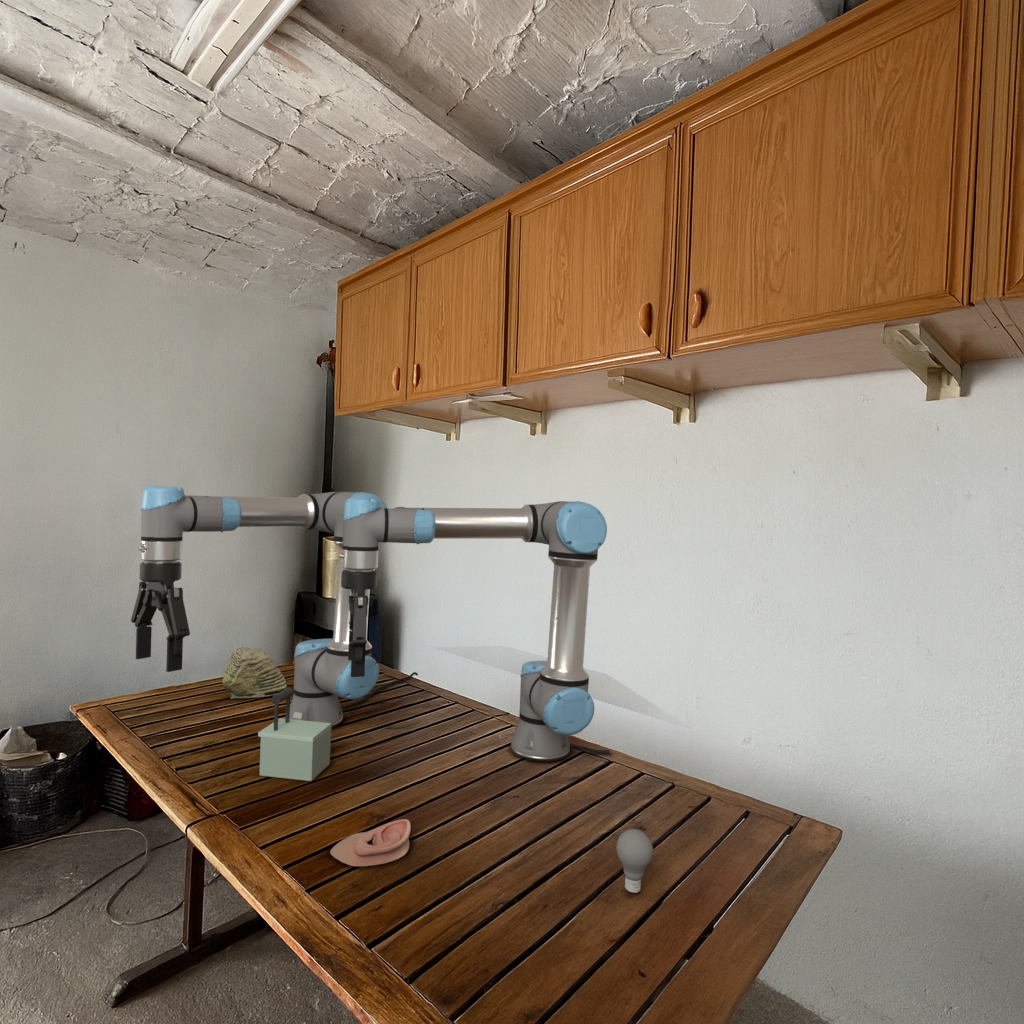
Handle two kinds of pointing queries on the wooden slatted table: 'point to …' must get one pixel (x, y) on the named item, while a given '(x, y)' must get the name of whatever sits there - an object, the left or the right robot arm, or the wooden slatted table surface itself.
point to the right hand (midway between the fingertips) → (355, 667)
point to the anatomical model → (374, 845)
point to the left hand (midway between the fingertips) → (158, 664)
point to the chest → (294, 757)
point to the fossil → (252, 674)
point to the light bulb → (634, 857)
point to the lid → (292, 723)
